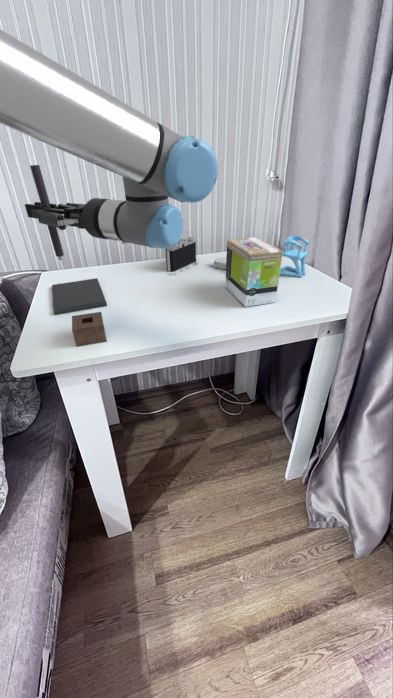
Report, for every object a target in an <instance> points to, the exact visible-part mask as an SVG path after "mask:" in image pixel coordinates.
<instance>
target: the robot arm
mask: <svg viewBox="0 0 393 698" xmlns="http://www.w3.org/2000/svg"><path fill="white" fill-rule="evenodd" d="M0 124H1V125H3V126H5V127H7V128H9V129H12V130H15V131H17V132H19V133H22V134H23V135H26V136H28V137H31V138H32V139H36V140H37V141H40V142H42V143H45V144H47V145H49V146H51V147H53V148H56V149H58V150H61V151H62V152H65V153H67V154H69V155H72V156H75V157H77V158H79V159H81V160H83V161H85V162H88V163H90V164H93V165H95V166H97V167H100V168H102V169H104V170H106V171H109V172H112V173H113V174H116V175H118V176H121V177H122V183H123V189H124V198H125V200H123V199H114V198H110V199H109V198H99V197H93V198H91V199H89V200H88V201H87V202H86V203H74V202H67V203H65V204H63V203H58V204H56V203H50V206H51V208H47V206H46V205H45V204H41V202H40V201H34V202H33V204H31V203H25V204H24V208H25V211H26V215H27V217H28V218H32V219H37V220H38V223H39V224H41V225H46V226H47V225H49V226H53V227H56V228H57V229H58V230H60V231H64V230H67V228H68V227H73V228H77V229H80V230H84V231H86V232H87V233H88V234H89V235H90V236H91V237H93V238H96V239H102V240H110V241H114V242H115V241H116V242H121V244H122V245H127V243H128V244H133V245H137V246H143V247H148V248H149V249H150V248H151V249H169V248H173V247H174V246H175V245H176V244H177V243H178V242H179V240H180V238H181V239H182V236H183V231H184V218H183V216H182V212H181V210H180V209H179V208H178V207H177V206H175V205H172V204H170V203H169V198H170V199H173V200H175V201H177V202H179V203H190V204H194V203H198V202H202V201H203V200H205V199H207V197H208V196H209V195H210V194H211V193H212V191H213V190H214V188H215V185H216V183H217V179H218V173H219V165H218V160H217V156H216V153H215V151H214V150H213V149H212V146H211V145H210V144H208V143H207V142H206V141H204V140H202V139H200V138H196V137H195V136H191V135H184V136H183V135H181V134H179V133H177V132H175V131H174V130H172V129H170V128H169V127H167V126H165V125H164V124H161V123H160V122H158V121H156V120H155V119H153V118H152V117H150V116H148V115H147V114H145V113H143V112H141V111H140V110H138V109H136V108H134V107H133V106H131V105H130V104H128V103H126V102H124V101H123V100H121V99H120V98H118V97H116V96H114V95H113V94H111V93H109V92H108V91H106V90H104V89H102V88H101V87H99V86H97V85H96V84H94V83H92V82H90V81H89V80H87V79H85V78H84V77H82V76H80V75H79V74H77V73H76V72H74V71H73V70H70V69H69V68H67V67H65V66H64V65H62V64H60V63H59V62H57V61H56V60H53V59H52V58H50V57H48V56H46V55H45V54H43V53H41V52H40V51H38V50H36V49H35V48H33V47H31V46H29V45H28V44H27V43H25V42H23V41H22V40H20V39H17V38H16V37H14V36H13V35H11V34H9V33H8V32H6V31H4V30H2V29H1V28H0Z"/></svg>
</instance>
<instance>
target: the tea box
mask: <svg viewBox="0 0 393 698" xmlns="http://www.w3.org/2000/svg"><path fill="white" fill-rule="evenodd" d="M283 252H284V250H282V249H280V248H279V247H277V246H274V245H273V244H271V243H269V242H267V241H265V240H263V239H261V238H260V237H257V236H256V237H255V236H253V237H245V238H235V239H234V238H233V239H228V240H227V241H226V257H225V258H226V270H225V278H224V279H225V280H224V281H225V282H224V283H225V284H224V287H225V288H226V289H227V290H228V291H229V292H230V294H231V295H232V296H234V297H235V298H236V300H237V301H239V303H240V304H242V305H243V306H244V307H254V306H261V305H266V304H272V303H276V300H277V295H278V287H279V283H280V282H279V281H280V280H279V279H280V275H279V274H280V269H281V268H282V267H281V266H282V260H283V256H282V253H283Z"/></svg>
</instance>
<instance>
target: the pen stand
mask: <svg viewBox="0 0 393 698" xmlns="http://www.w3.org/2000/svg"><path fill="white" fill-rule="evenodd" d="M71 332H72V335H73V339H74V344H75V346H76V347H82V346H87V345H92V344H93V345H95V344H100V343H106V342H107V341H108V340H107V334H106V328H105V322H104V318H103V314H102V311H97V312H89V313H82V314H75V315H71Z"/></svg>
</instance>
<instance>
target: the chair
mask: <svg viewBox="0 0 393 698" xmlns="http://www.w3.org/2000/svg"><path fill="white" fill-rule="evenodd" d="M298 241H301V242H303V243H304V244H305V245H304V246H303V245H302V244H300V243H299V242H298ZM309 244H310V241H308V240H307V239H306V238H304V237H302V236H299V235H289V236H287V237H286V238H285V240H284V241H283V247H284V250H283V253H282V257H284V258H285V257H286V258H288V259H290V260H291V261H292V263H293V264H294V267H293V266H291V265H283V266H282V267H280V274H279V276H288V277H296V278H303V276H306V256H308V255H309V251H307V248H308V245H309ZM289 245H290V248H288V246H289ZM294 246H295V247H297V248H298V249H295V248H294ZM302 248H303V250H302ZM299 262H300V263H299ZM286 269H287V270H290V271H291V272H289V271H284V270H286Z"/></svg>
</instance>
